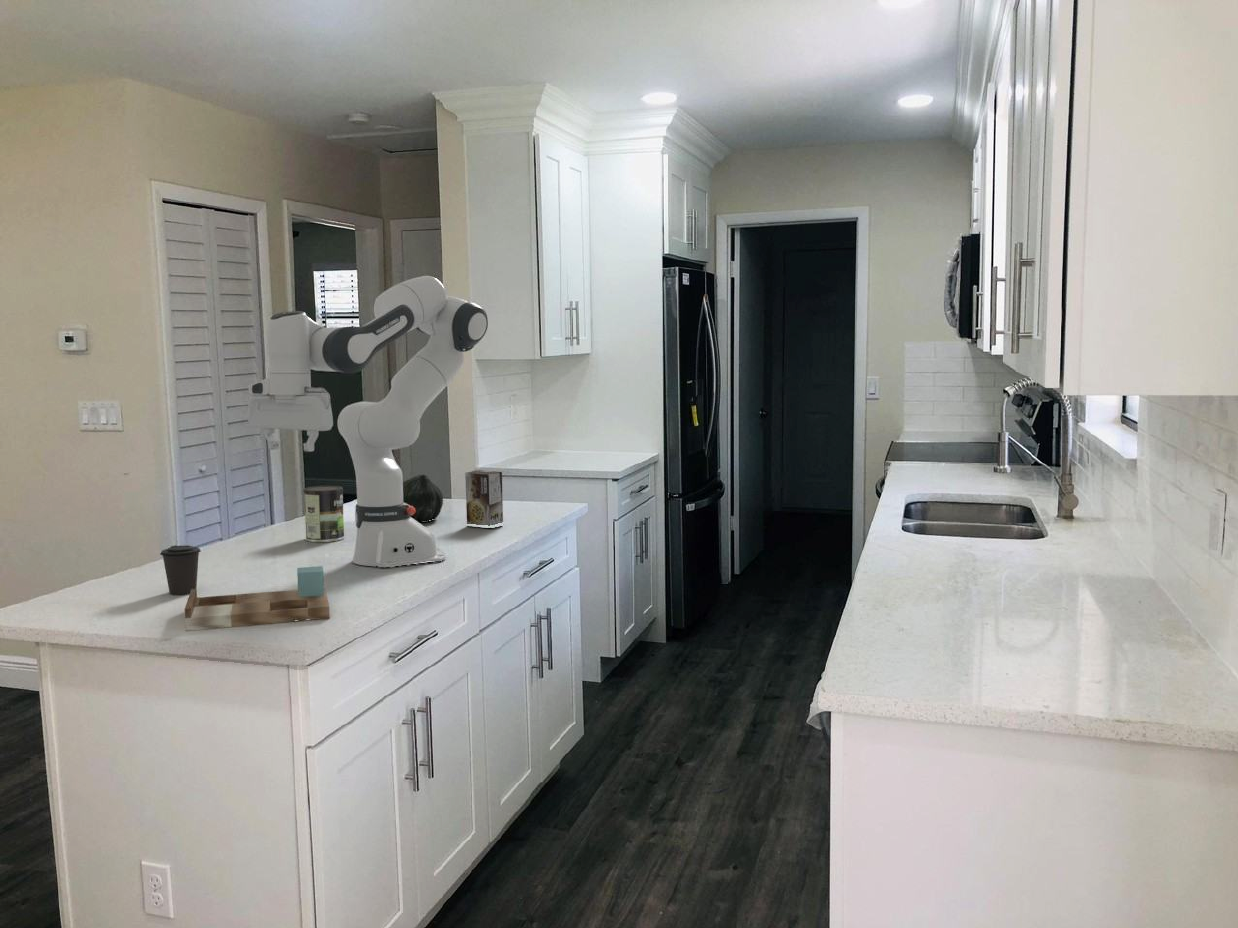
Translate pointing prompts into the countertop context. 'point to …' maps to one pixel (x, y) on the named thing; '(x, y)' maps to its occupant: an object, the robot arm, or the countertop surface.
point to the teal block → (310, 581)
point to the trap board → (252, 609)
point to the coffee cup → (181, 568)
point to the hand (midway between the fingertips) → (291, 450)
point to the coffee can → (324, 513)
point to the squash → (423, 497)
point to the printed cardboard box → (484, 497)
